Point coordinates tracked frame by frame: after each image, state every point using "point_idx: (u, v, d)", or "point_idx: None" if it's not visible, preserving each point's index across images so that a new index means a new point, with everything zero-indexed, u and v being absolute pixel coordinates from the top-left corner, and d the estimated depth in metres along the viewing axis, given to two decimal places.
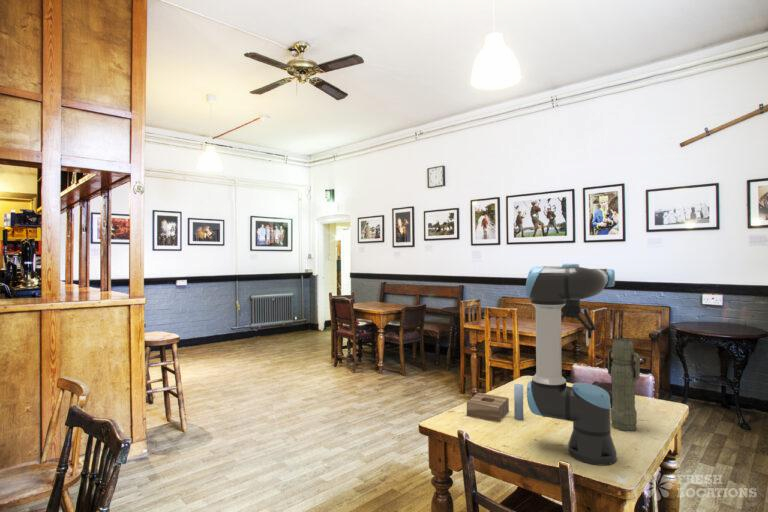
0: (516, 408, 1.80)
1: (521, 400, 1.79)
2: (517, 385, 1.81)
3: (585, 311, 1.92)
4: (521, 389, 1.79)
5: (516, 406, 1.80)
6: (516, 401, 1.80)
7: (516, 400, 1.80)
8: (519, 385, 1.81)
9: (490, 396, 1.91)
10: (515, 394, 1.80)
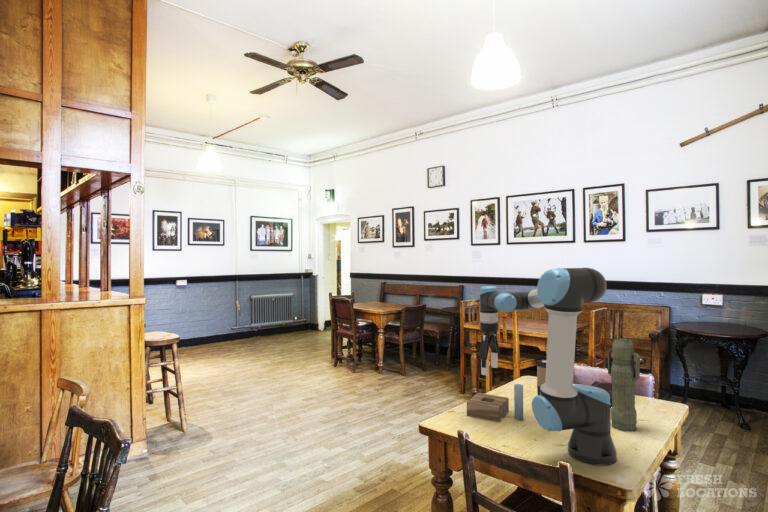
0: (516, 408, 1.80)
1: (521, 400, 1.79)
2: (517, 385, 1.81)
3: None
4: (521, 389, 1.79)
5: (516, 406, 1.80)
6: (516, 401, 1.80)
7: (516, 400, 1.80)
8: (519, 385, 1.81)
9: (490, 396, 1.91)
10: (515, 394, 1.80)
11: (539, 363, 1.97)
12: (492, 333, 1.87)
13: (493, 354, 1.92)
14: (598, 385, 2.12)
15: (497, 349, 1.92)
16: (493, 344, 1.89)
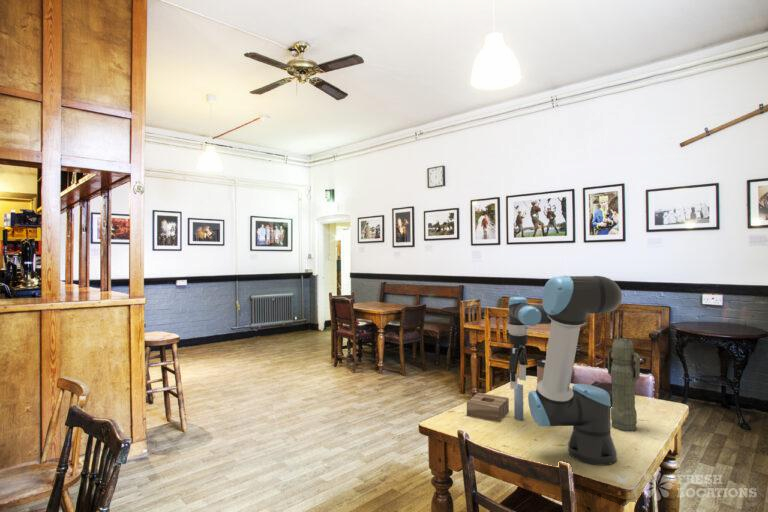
0: (516, 408, 1.80)
1: (521, 400, 1.79)
2: (517, 385, 1.81)
3: None
4: (521, 389, 1.79)
5: (516, 406, 1.80)
6: (516, 401, 1.80)
7: (516, 400, 1.80)
8: (519, 385, 1.81)
9: (490, 396, 1.91)
10: (515, 394, 1.80)
11: (539, 363, 1.97)
12: (521, 345, 1.81)
13: (521, 366, 1.87)
14: (598, 385, 2.12)
15: (525, 361, 1.87)
16: (522, 356, 1.84)
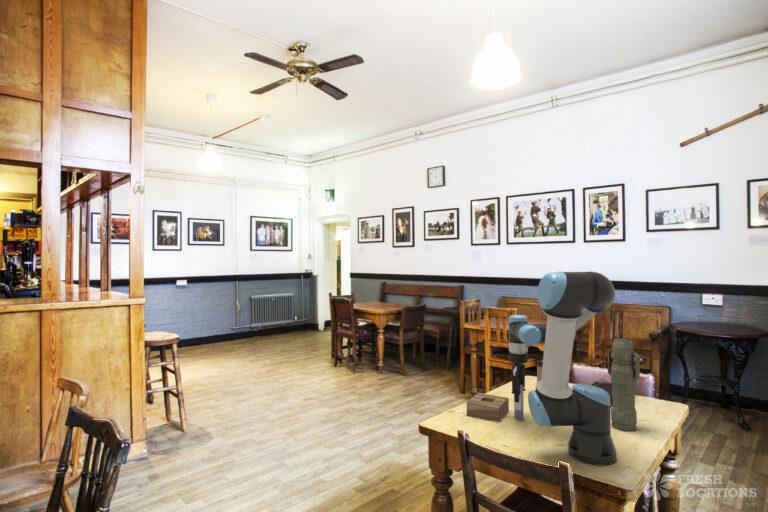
0: None
1: (521, 400, 1.79)
2: None
3: None
4: (521, 389, 1.79)
5: None
6: None
7: None
8: None
9: (490, 396, 1.91)
10: None
11: (539, 363, 1.97)
12: None
13: None
14: (598, 385, 2.12)
15: (523, 387, 1.83)
16: (520, 377, 1.82)
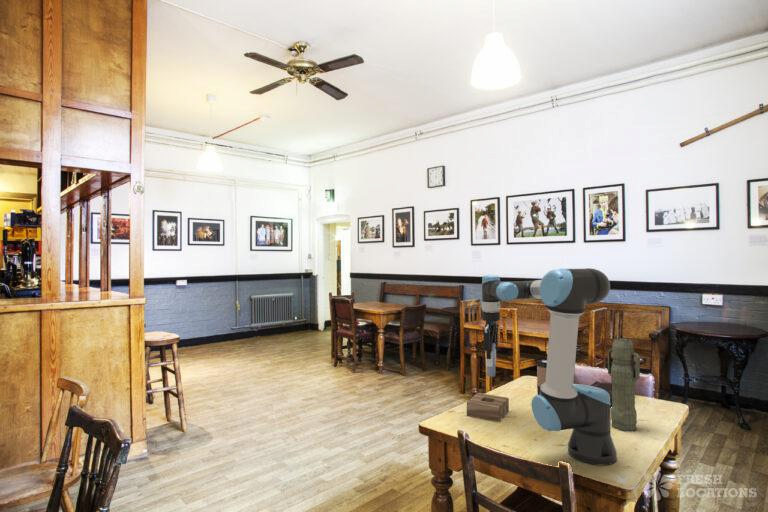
0: None
1: (493, 357, 1.85)
2: None
3: None
4: (493, 347, 1.85)
5: None
6: None
7: None
8: None
9: (490, 396, 1.91)
10: None
11: (539, 363, 1.97)
12: None
13: None
14: (598, 385, 2.12)
15: (496, 345, 1.89)
16: (493, 336, 1.87)
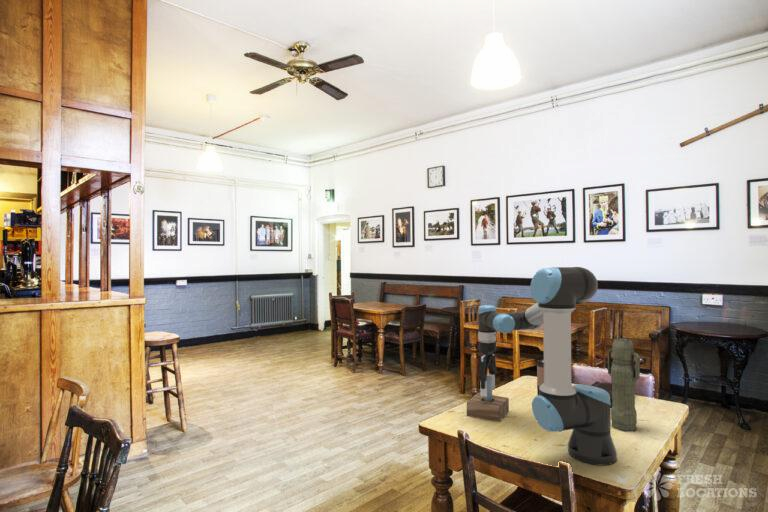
0: (485, 399, 1.86)
1: (490, 391, 1.85)
2: None
3: None
4: (490, 380, 1.85)
5: (485, 397, 1.86)
6: None
7: None
8: (488, 376, 1.87)
9: None
10: None
11: (539, 363, 1.97)
12: (490, 351, 1.87)
13: None
14: (599, 385, 2.12)
15: (494, 370, 1.92)
16: (491, 364, 1.89)
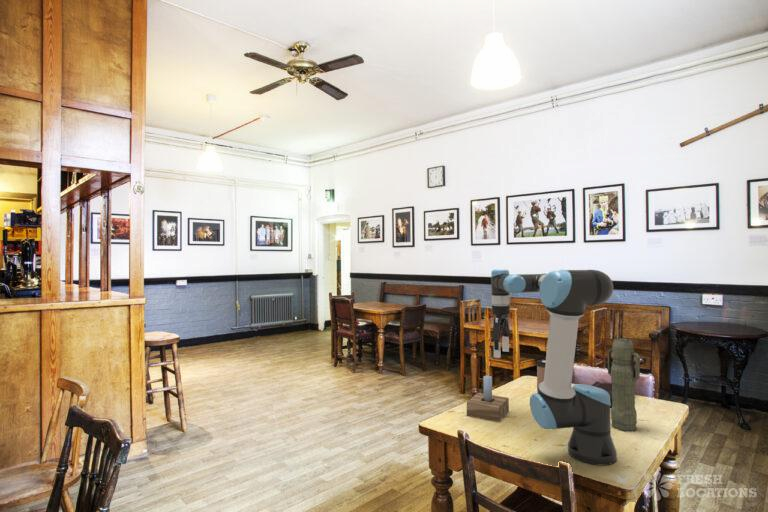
0: (485, 399, 1.86)
1: (490, 391, 1.85)
2: (486, 376, 1.87)
3: None
4: (490, 380, 1.85)
5: (485, 397, 1.86)
6: (485, 392, 1.86)
7: (485, 391, 1.86)
8: (488, 376, 1.87)
9: None
10: (484, 385, 1.86)
11: (539, 363, 1.97)
12: (504, 316, 1.86)
13: (504, 338, 1.92)
14: (599, 385, 2.12)
15: (508, 333, 1.92)
16: (504, 327, 1.89)
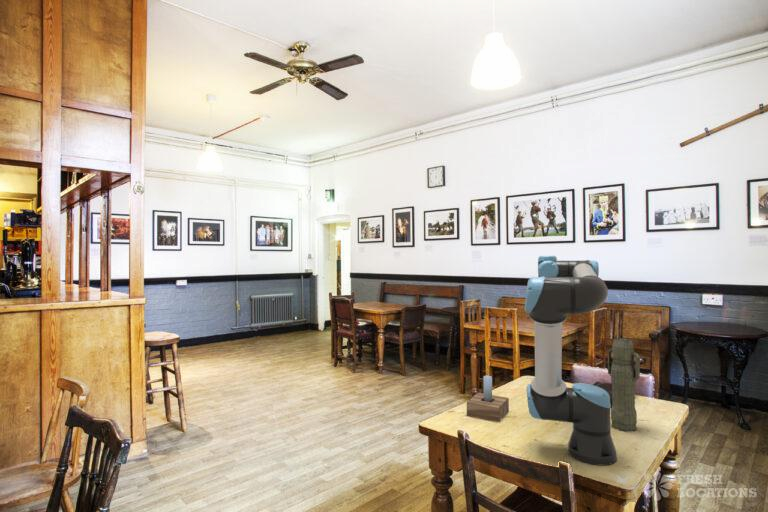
0: (485, 399, 1.86)
1: (490, 391, 1.85)
2: (486, 376, 1.87)
3: None
4: (490, 380, 1.85)
5: (485, 397, 1.86)
6: (485, 392, 1.86)
7: (485, 391, 1.86)
8: (488, 376, 1.87)
9: None
10: (484, 385, 1.86)
11: None
12: None
13: None
14: (599, 385, 2.12)
15: None
16: None
